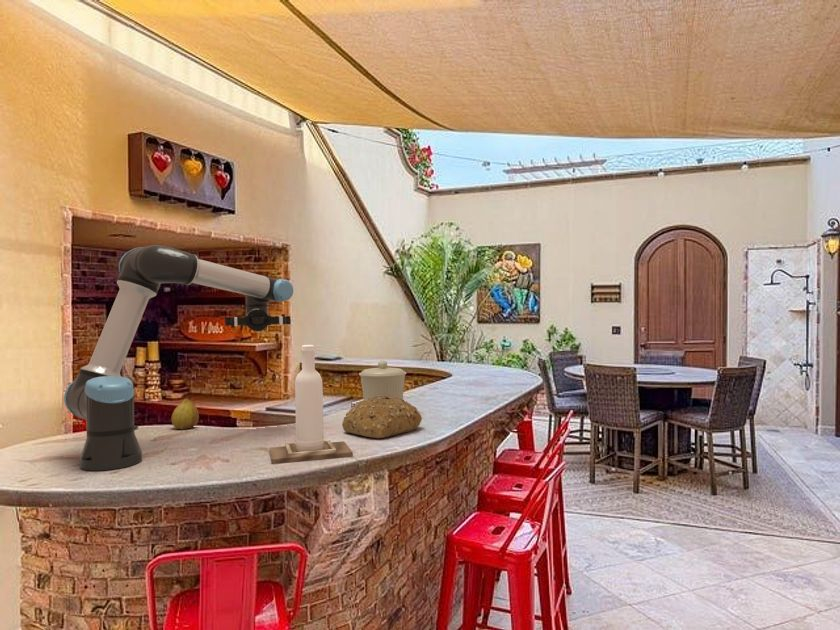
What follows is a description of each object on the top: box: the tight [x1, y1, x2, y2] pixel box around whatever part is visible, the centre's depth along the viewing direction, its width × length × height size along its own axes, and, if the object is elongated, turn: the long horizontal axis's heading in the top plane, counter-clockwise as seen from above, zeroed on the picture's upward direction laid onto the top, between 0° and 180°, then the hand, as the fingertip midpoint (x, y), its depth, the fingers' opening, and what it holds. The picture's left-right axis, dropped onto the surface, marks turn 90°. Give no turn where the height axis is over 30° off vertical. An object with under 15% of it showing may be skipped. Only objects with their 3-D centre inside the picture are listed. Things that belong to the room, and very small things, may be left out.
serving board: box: [269, 439, 354, 465], centre depth 168 cm, size 22×14×2 cm, turn 107°
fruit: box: [170, 393, 200, 430], centre depth 207 cm, size 9×9×12 cm
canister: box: [358, 360, 407, 400], centre depth 224 cm, size 18×18×21 cm
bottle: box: [294, 344, 325, 452], centre depth 167 cm, size 8×8×30 cm
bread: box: [342, 395, 423, 439], centre depth 196 cm, size 24×21×12 cm
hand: (258, 321), depth 180 cm, fingers open, 13 cm apart
